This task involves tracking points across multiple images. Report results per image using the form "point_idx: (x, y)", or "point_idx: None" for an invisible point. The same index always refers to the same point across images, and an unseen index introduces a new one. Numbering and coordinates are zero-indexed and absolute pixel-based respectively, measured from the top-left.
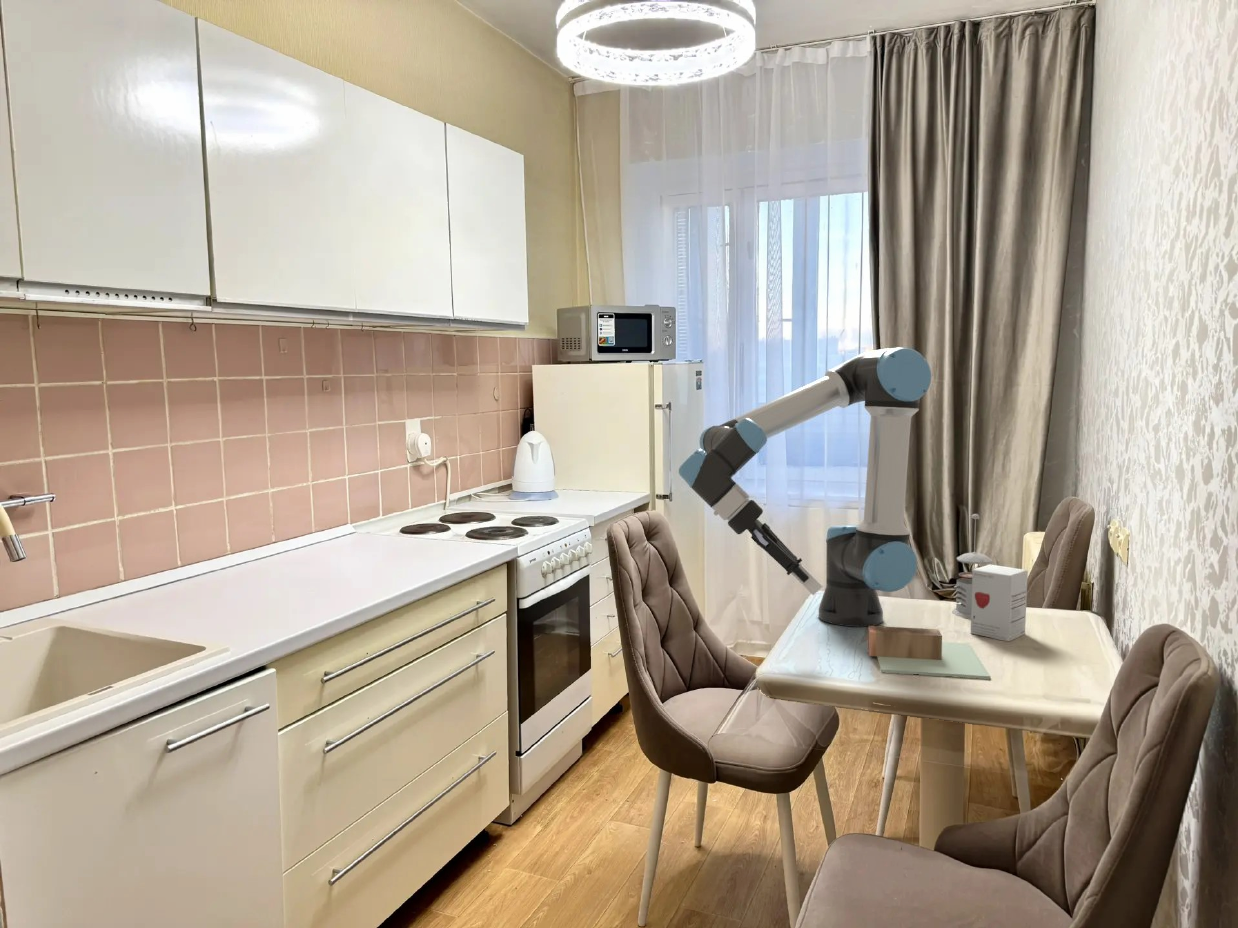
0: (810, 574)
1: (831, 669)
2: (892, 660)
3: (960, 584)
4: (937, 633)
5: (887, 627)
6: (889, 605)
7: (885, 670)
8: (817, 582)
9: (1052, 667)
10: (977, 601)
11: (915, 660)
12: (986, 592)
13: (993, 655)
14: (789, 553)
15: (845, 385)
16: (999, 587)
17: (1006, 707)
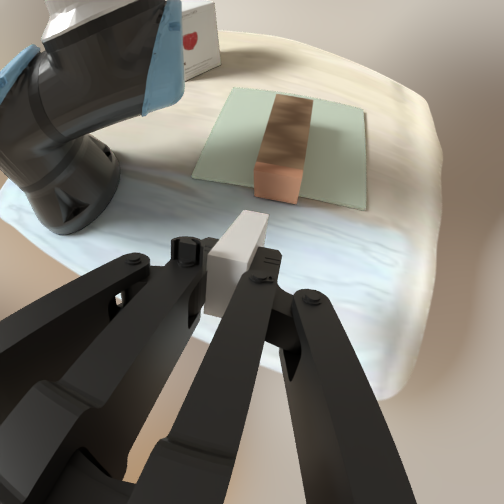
0: (256, 234)
1: (359, 284)
2: (318, 179)
3: None
4: (300, 100)
5: (267, 145)
6: None
7: (365, 203)
8: (265, 223)
9: (310, 64)
10: (184, 46)
11: (314, 152)
12: (192, 31)
13: (272, 82)
14: (174, 305)
15: None
16: (205, 19)
17: (437, 138)
